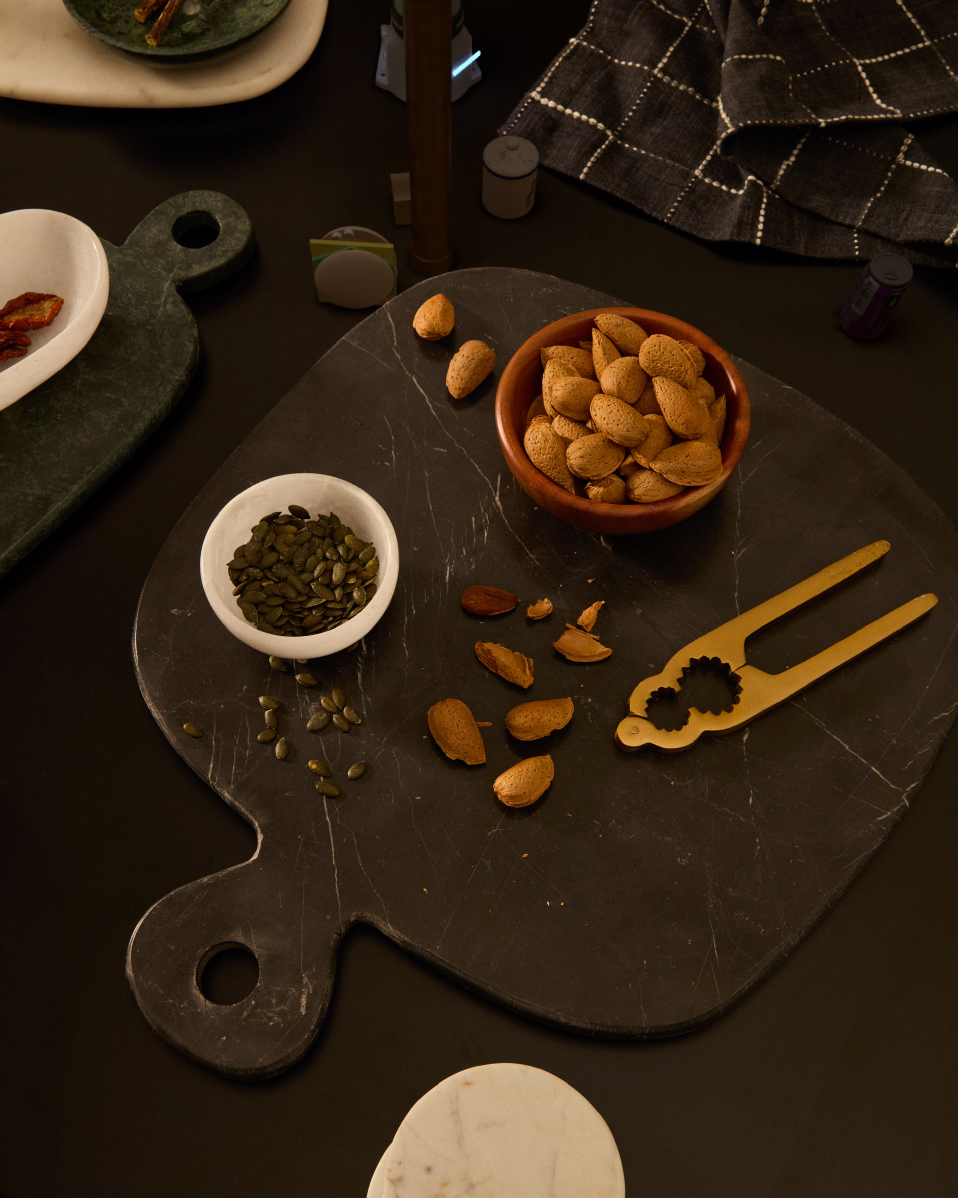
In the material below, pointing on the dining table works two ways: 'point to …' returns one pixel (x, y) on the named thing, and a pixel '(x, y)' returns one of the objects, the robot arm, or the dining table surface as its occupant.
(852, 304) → the beverage can
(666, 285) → the dining table surface
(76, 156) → the dining table surface
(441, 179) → the pepper mill
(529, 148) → the teacup with lid
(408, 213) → the maple block
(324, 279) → the hamburger
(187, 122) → the dining table surface
